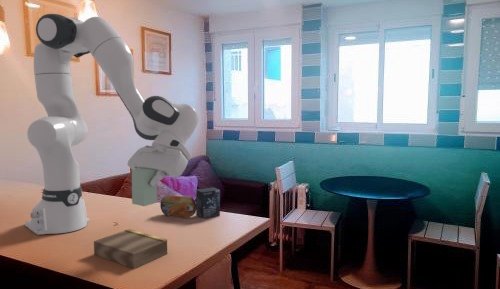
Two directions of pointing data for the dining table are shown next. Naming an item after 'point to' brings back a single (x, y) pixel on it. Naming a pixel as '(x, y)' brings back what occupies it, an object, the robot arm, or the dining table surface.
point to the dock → (130, 248)
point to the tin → (178, 206)
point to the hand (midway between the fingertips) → (142, 183)
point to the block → (143, 187)
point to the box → (207, 202)
